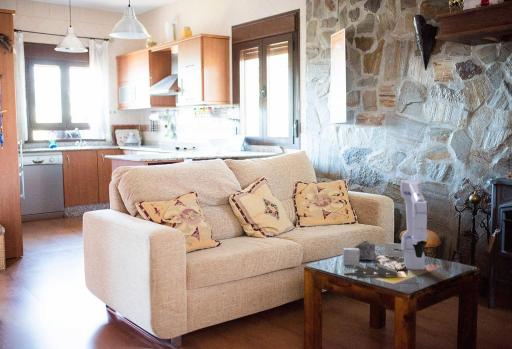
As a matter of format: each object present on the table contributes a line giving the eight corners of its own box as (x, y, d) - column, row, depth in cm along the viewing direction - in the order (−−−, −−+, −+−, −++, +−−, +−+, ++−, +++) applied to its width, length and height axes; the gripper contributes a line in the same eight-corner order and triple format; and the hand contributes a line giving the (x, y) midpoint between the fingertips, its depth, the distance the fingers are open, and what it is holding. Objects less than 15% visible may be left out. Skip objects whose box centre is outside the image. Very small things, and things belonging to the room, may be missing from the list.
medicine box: (358, 265, 265) (358, 248, 264) (359, 267, 261) (359, 250, 260) (342, 264, 266) (342, 247, 265) (343, 267, 262) (343, 249, 261)
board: (403, 273, 250) (403, 271, 250) (407, 279, 241) (407, 277, 241) (359, 272, 252) (359, 270, 252) (361, 277, 243) (361, 275, 243)
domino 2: (384, 269, 247) (366, 263, 248) (386, 272, 242) (367, 266, 243) (383, 272, 247) (365, 266, 248) (385, 276, 242) (366, 269, 243)
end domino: (362, 268, 248) (343, 270, 249) (363, 271, 243) (343, 273, 244) (362, 272, 248) (343, 273, 249) (363, 275, 243) (344, 276, 244)
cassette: (408, 258, 278) (408, 244, 277) (407, 259, 276) (407, 245, 275) (385, 256, 283) (385, 242, 282) (384, 257, 281) (384, 242, 281)
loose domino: (396, 270, 247) (377, 263, 247) (397, 273, 242) (379, 266, 242) (394, 273, 247) (376, 266, 247) (396, 276, 242) (377, 269, 242)
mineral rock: (347, 260, 275) (348, 241, 274) (353, 255, 284) (354, 237, 283) (372, 263, 269) (372, 243, 268) (377, 258, 279) (377, 239, 278)
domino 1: (372, 269, 248) (354, 262, 248) (374, 272, 243) (355, 265, 243) (371, 272, 248) (353, 265, 248) (372, 275, 243) (354, 268, 244)
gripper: (416, 224, 246) (415, 252, 248) (405, 229, 235) (404, 259, 236) (431, 225, 242) (430, 254, 243) (421, 231, 230) (420, 261, 232)
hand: (419, 257), depth 239 cm, fingers closed
